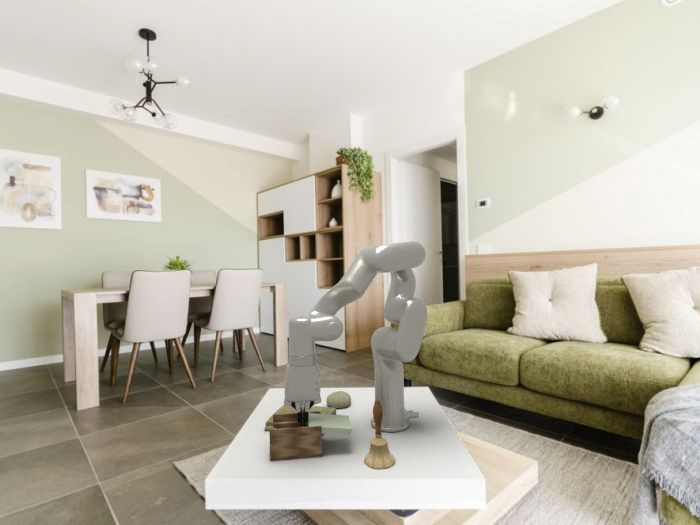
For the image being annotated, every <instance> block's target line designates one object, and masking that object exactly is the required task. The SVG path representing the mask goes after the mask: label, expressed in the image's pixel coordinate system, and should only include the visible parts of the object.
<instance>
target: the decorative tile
mask: <svg viewBox="0 0 700 525" xmlns="http://www.w3.org/2000/svg"><path fill="white" fill-rule="evenodd" d="M300 405H301V404H300ZM301 407H302V409H304V407H305V405H301ZM316 411H320V414H330V415H337V408H332V407H330V406H327V407H326V406H319V405H318V406H317V405H313V406H312V407H311V408H310V409H309V411H308V412H316ZM285 413H298V412H297V411H296V410H295V409H294V408H293V407H292V406H288V405H284V404H283V405H282V406H281V407H279V408H278V409H277V410H276V411H275V412H273V414H285ZM273 414H272V415H271V416H270V417H269V418H268V419H267V420H266V422H265V426H264V429H263V430H264V431H265V432H267V431H269V433H270V429H273ZM323 436H324V434H322V437H323Z"/></svg>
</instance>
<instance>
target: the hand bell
mask: <svg viewBox="0 0 700 525" xmlns="http://www.w3.org/2000/svg"><path fill="white" fill-rule="evenodd" d="M382 416H383V411H382V406H381V404H380V400H375V399H374V404H373V408H372V418H374V421H375V428H374V429H375V432H374V433H375V437H373V438H372V439H371V440H370V444H369V450H368V452H367V454H366V455H365V457H364V459H363V462H364V464H365V465H366V466H367V467H368V468H371V469H375V470H384V469H389V468H391V467H393V466H394V465H395V464H396V459H395V456H394V455H393V454H391V452H390V450H389V444H388V440H387V438H385V437H383V435H382V432H383V431H381V421H382Z"/></svg>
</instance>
